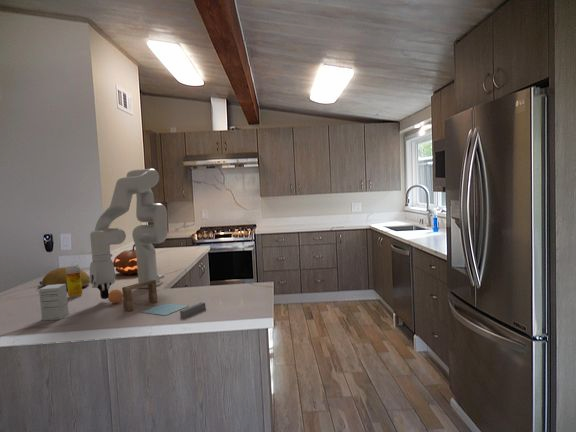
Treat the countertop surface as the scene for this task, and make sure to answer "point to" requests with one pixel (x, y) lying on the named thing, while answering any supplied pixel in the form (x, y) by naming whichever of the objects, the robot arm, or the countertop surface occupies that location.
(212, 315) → the countertop surface
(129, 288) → the bridge
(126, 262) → the pumpkin
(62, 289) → the supplement box
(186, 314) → the stopper
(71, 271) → the beer can
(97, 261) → the robot arm
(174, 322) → the countertop surface
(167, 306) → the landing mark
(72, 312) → the countertop surface
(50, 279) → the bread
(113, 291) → the ball
